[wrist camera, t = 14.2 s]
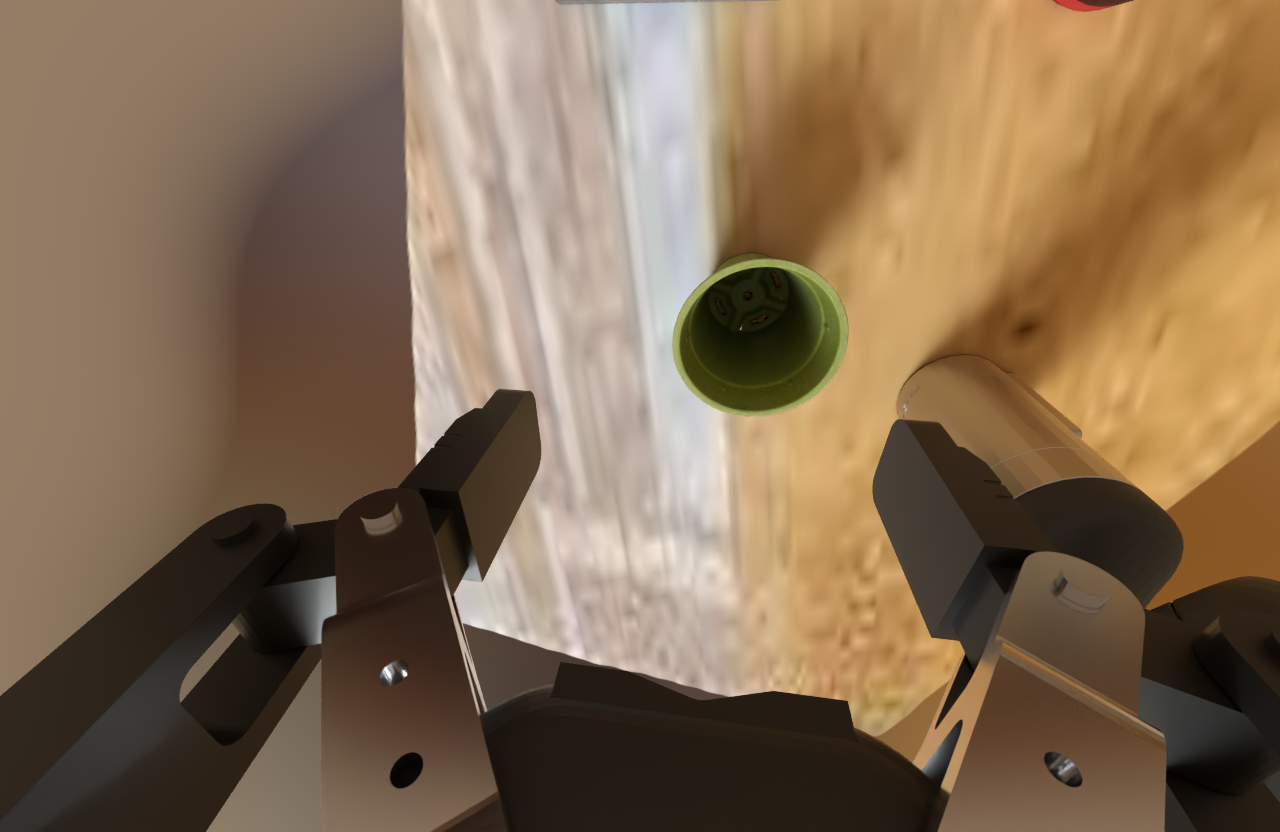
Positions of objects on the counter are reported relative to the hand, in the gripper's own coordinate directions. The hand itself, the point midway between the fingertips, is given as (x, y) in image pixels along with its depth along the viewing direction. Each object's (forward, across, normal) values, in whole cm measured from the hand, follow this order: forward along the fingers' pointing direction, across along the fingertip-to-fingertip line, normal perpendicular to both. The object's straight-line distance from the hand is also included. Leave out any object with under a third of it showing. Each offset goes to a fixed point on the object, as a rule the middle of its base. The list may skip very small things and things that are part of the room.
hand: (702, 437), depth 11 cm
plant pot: (+33, -4, +7) cm, 34 cm away
